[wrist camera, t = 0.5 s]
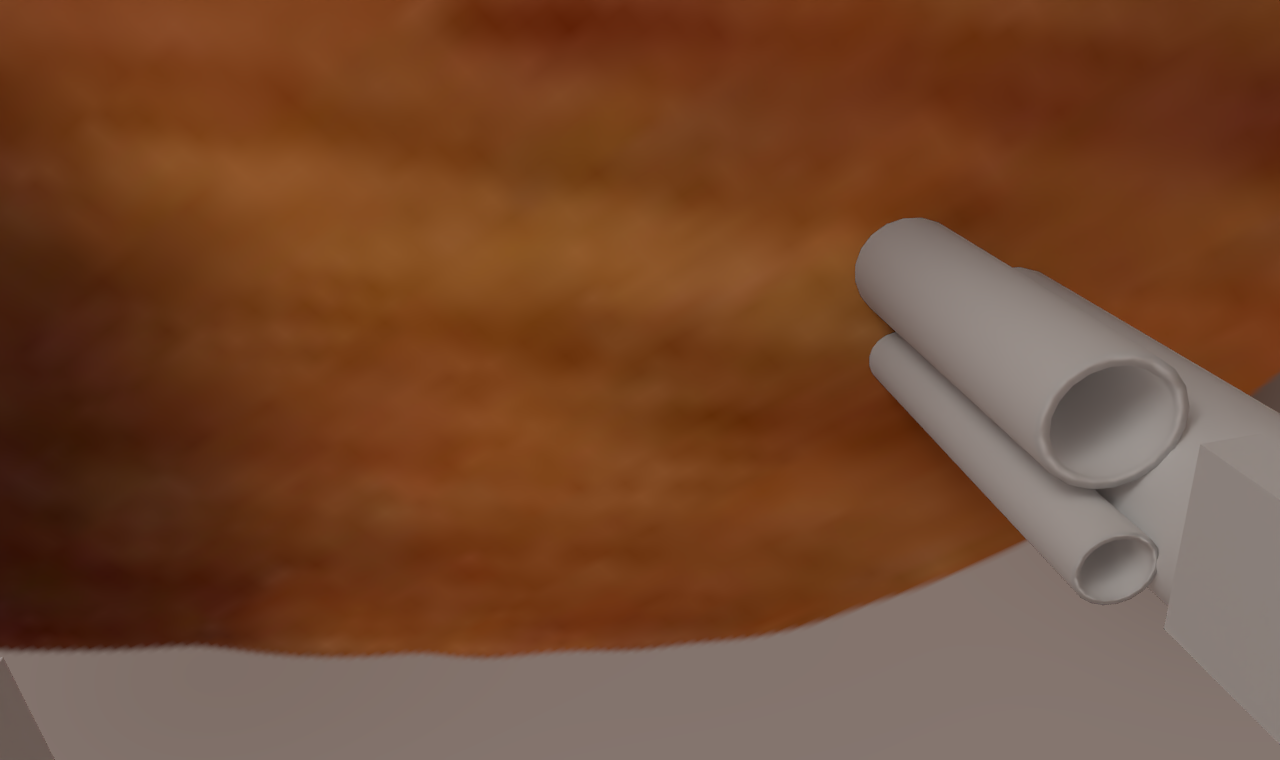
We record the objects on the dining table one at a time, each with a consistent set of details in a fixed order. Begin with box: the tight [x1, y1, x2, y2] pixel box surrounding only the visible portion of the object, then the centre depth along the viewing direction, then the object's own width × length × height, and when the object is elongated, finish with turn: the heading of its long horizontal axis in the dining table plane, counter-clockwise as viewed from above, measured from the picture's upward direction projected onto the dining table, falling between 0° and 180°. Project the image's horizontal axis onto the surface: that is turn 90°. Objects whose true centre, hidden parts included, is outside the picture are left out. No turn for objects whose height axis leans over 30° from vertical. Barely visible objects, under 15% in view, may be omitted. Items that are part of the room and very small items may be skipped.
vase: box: [855, 218, 1280, 606], centre depth 33 cm, size 11×7×20 cm, turn 65°
